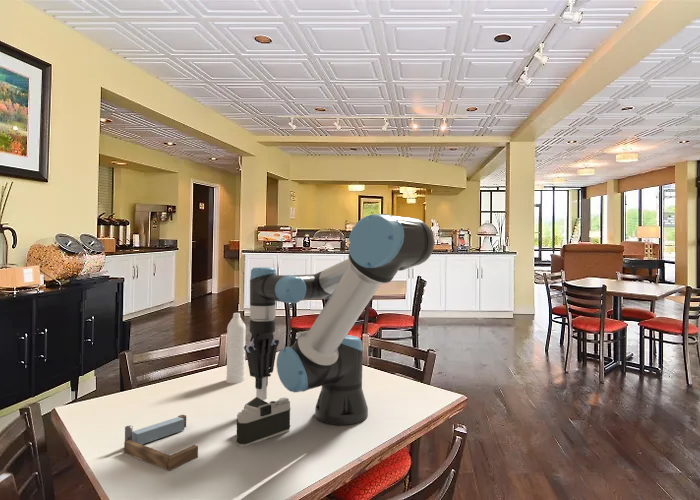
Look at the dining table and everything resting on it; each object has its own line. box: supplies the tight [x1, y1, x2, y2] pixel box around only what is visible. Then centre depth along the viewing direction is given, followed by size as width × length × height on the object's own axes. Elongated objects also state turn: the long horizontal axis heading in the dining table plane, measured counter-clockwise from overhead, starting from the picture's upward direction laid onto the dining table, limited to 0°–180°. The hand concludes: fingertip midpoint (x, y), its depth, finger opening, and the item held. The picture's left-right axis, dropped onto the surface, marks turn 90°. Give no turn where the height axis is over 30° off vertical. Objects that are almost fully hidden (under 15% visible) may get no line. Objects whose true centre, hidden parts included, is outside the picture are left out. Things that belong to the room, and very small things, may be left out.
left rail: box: [167, 444, 199, 471], centre depth 99 cm, size 1×7×2 cm, turn 149°
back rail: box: [123, 440, 171, 471], centre depth 100 cm, size 15×1×2 cm, turn 59°
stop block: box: [177, 414, 187, 429], centre depth 119 cm, size 2×1×3 cm
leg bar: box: [132, 416, 185, 445], centre depth 112 cm, size 12×3×3 cm, turn 144°
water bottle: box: [226, 311, 250, 384], centre depth 162 cm, size 9×6×25 cm
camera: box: [235, 396, 291, 447], centre depth 115 cm, size 16×9×10 cm, turn 137°
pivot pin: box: [124, 425, 133, 442], centre depth 106 cm, size 2×2×5 cm
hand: (261, 398), depth 132 cm, fingers closed
